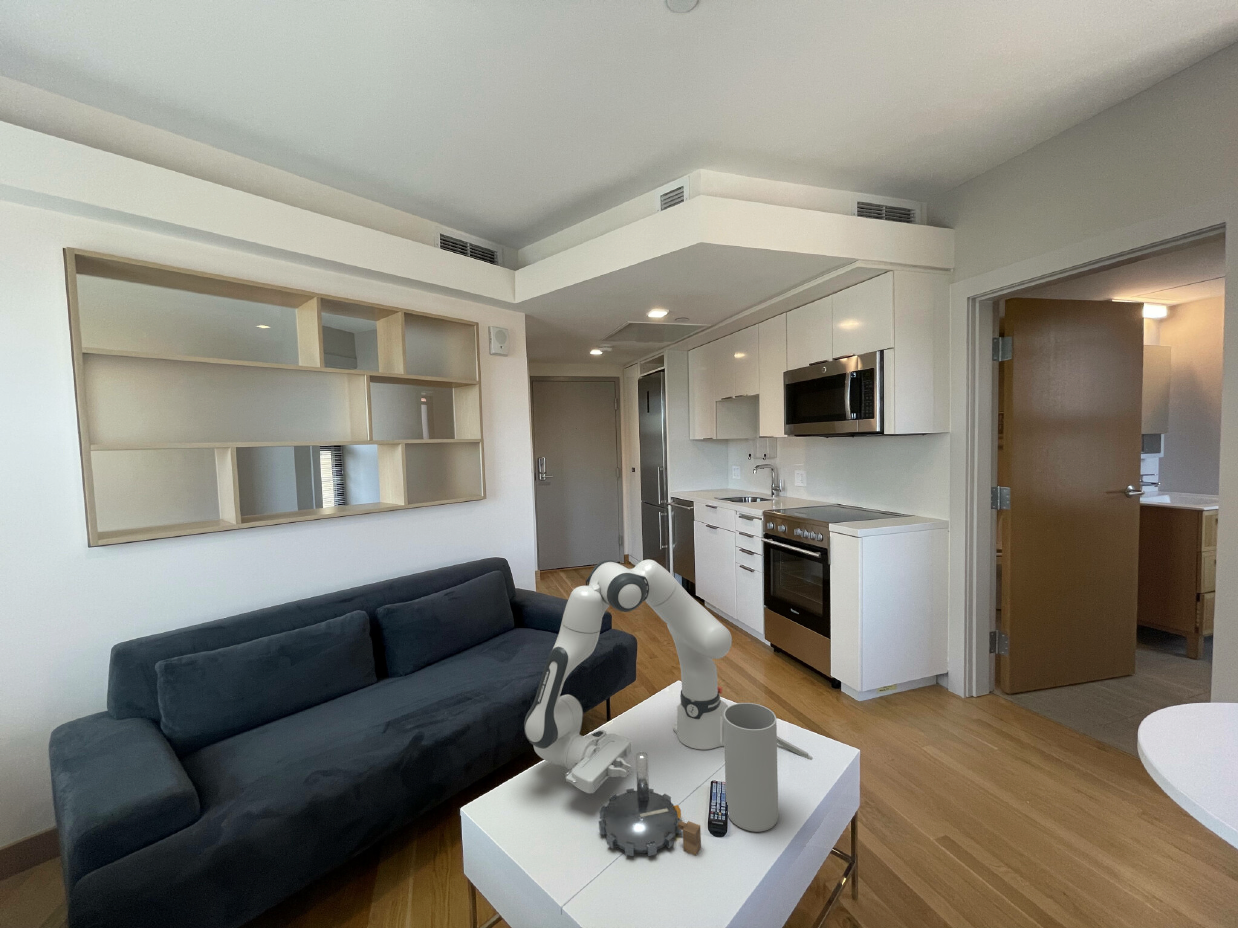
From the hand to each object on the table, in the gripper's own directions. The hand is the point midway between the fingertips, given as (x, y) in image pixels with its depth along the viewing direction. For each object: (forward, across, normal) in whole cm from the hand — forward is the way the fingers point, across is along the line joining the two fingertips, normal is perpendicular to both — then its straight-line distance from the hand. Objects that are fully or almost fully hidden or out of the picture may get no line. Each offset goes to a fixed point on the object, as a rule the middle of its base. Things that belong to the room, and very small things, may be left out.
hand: (628, 771), depth 134 cm
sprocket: (+7, -6, +8) cm, 12 cm away
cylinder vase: (+29, +11, +8) cm, 32 cm away
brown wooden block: (+20, -6, +8) cm, 23 cm away
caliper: (+27, +42, +9) cm, 50 cm away
